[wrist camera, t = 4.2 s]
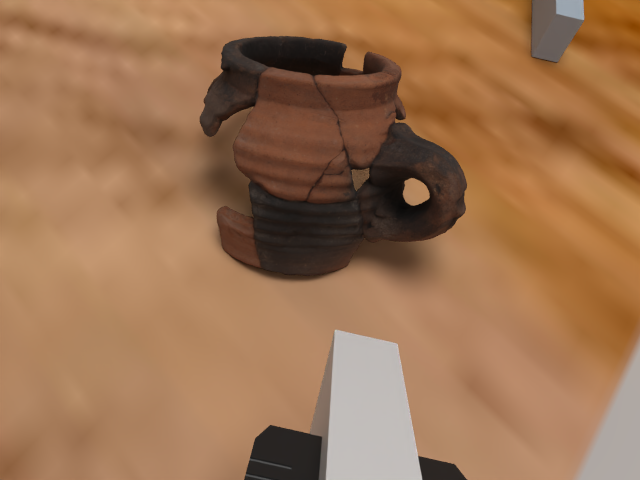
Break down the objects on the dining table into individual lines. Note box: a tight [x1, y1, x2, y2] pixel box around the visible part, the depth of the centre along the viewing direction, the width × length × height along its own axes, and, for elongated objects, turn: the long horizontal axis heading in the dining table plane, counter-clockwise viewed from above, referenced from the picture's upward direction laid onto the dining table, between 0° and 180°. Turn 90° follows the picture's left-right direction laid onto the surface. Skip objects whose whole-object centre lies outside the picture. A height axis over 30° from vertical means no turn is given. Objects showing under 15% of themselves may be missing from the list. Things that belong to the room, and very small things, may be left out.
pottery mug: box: [200, 36, 467, 276], centre depth 26 cm, size 12×10×8 cm
